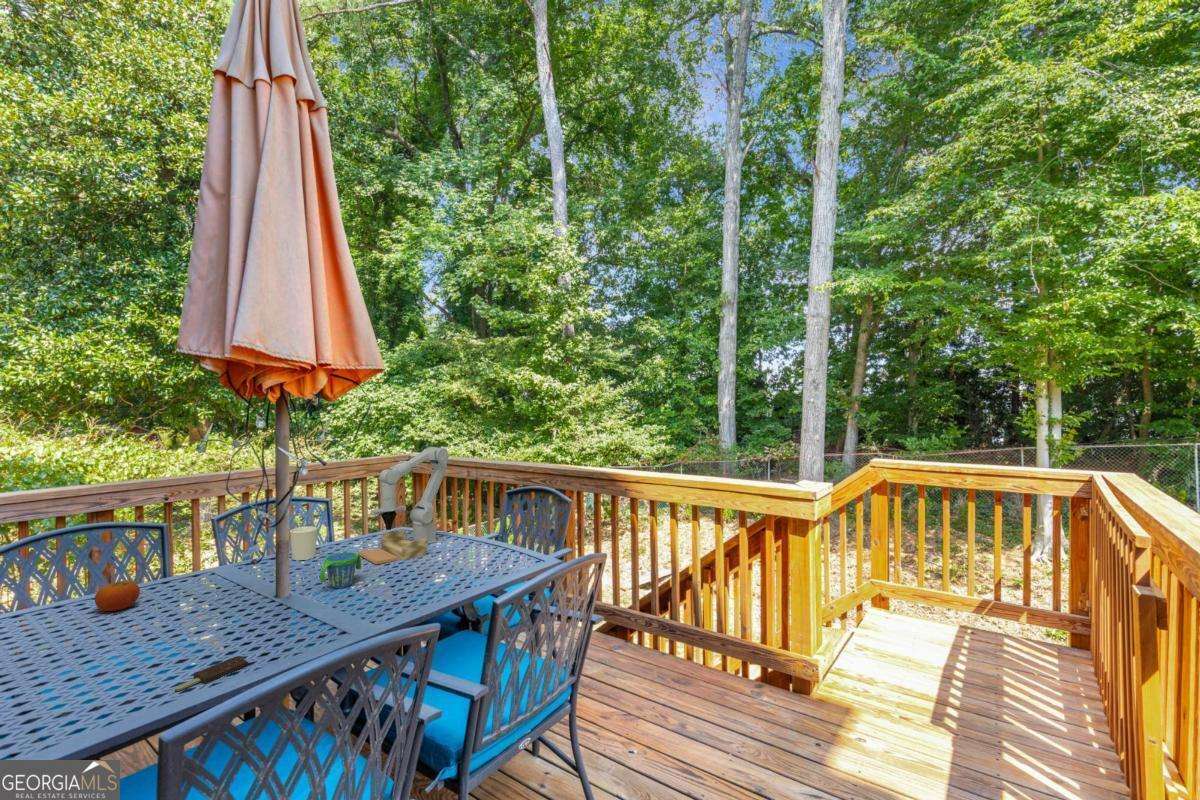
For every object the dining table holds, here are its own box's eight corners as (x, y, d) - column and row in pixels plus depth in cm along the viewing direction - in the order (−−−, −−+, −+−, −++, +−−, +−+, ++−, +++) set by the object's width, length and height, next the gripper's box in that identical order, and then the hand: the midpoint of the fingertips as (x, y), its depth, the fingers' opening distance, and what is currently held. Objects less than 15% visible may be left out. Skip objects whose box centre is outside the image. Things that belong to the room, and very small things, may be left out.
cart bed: (404, 545, 235) (405, 529, 235) (427, 555, 220) (427, 539, 220) (381, 550, 228) (381, 534, 228) (403, 561, 213) (403, 543, 213)
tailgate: (379, 548, 226) (358, 551, 219) (398, 557, 213) (375, 561, 206) (379, 550, 225) (357, 554, 219) (398, 560, 213) (375, 564, 206)
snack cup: (329, 595, 177) (329, 565, 176) (311, 589, 182) (311, 560, 182) (370, 581, 190) (370, 553, 190) (351, 576, 195) (352, 548, 195)
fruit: (94, 608, 164) (94, 583, 164) (138, 599, 172) (138, 575, 172) (95, 618, 157) (95, 592, 157) (141, 609, 164) (141, 583, 164)
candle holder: (314, 553, 222) (314, 525, 222) (319, 559, 215) (319, 529, 215) (287, 557, 216) (288, 528, 216) (292, 563, 208) (292, 533, 208)
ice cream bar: (181, 696, 118) (251, 666, 131) (181, 689, 118) (251, 659, 131) (169, 690, 120) (239, 661, 134) (169, 682, 120) (239, 654, 134)
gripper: (375, 501, 218) (375, 534, 218) (409, 496, 228) (408, 528, 228) (368, 499, 223) (368, 531, 223) (401, 494, 233) (401, 525, 233)
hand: (388, 529), depth 226 cm, fingers closed
